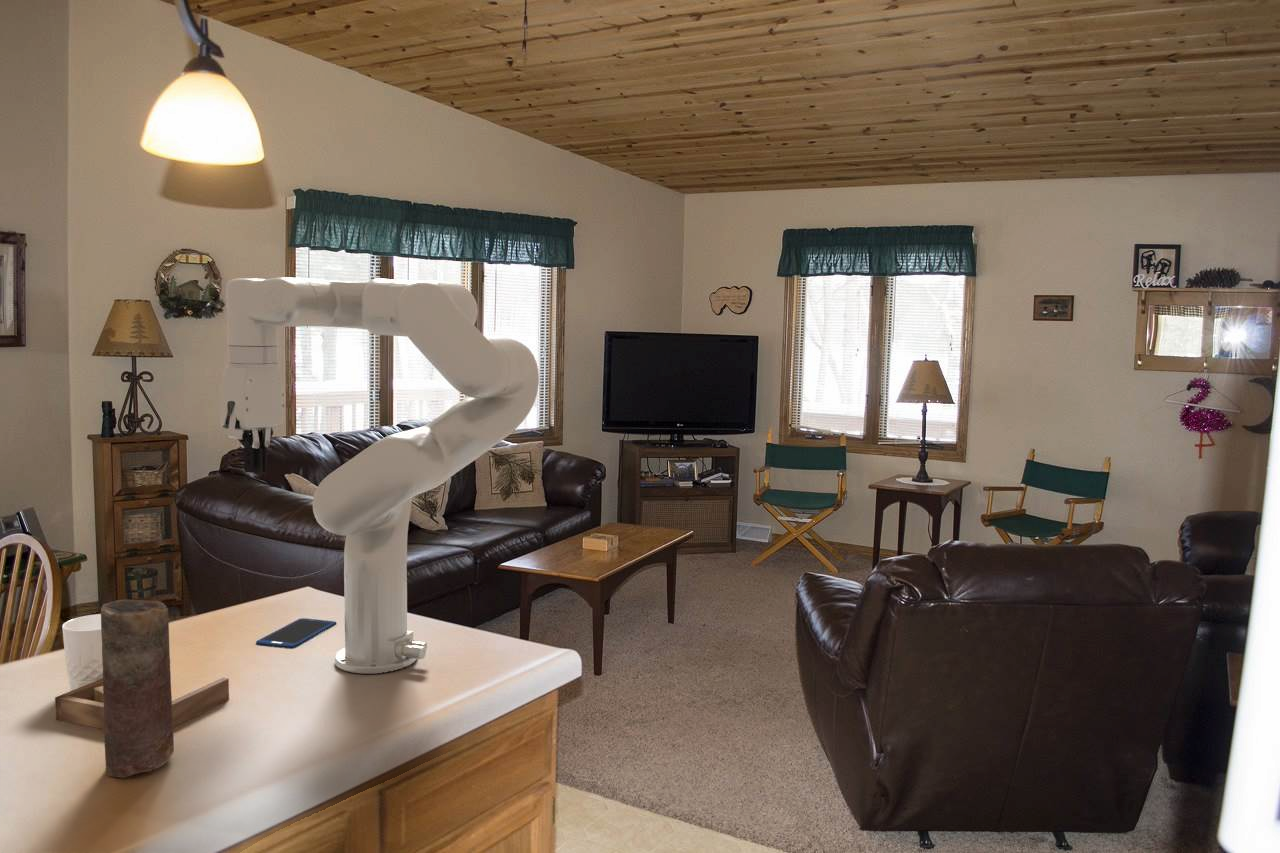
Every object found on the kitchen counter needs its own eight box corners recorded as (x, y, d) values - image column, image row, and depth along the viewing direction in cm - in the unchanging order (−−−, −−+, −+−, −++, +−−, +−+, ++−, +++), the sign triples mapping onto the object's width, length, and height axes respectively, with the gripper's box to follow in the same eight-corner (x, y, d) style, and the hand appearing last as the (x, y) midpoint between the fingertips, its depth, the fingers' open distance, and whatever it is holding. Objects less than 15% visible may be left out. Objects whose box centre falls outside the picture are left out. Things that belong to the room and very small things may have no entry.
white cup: (100, 702, 135) (97, 632, 134) (51, 696, 136) (48, 628, 135) (140, 681, 142) (137, 616, 141) (94, 676, 144) (91, 611, 143)
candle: (123, 751, 120) (117, 594, 118) (184, 750, 120) (179, 594, 118) (93, 781, 112) (86, 614, 110) (159, 780, 113) (153, 613, 111)
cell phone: (253, 646, 159) (253, 642, 159) (301, 621, 173) (301, 617, 173) (293, 650, 158) (293, 646, 158) (338, 625, 171) (338, 621, 171)
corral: (229, 699, 137) (228, 678, 136) (149, 738, 124) (148, 716, 123) (141, 682, 142) (141, 663, 142) (56, 719, 129) (55, 697, 128)
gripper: (266, 355, 161) (268, 464, 163) (198, 358, 147) (202, 477, 149) (303, 356, 159) (305, 467, 161) (238, 359, 144) (241, 480, 147)
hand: (255, 471), depth 155 cm, fingers closed
